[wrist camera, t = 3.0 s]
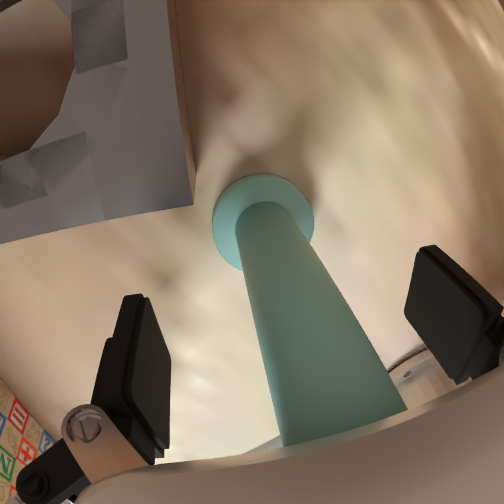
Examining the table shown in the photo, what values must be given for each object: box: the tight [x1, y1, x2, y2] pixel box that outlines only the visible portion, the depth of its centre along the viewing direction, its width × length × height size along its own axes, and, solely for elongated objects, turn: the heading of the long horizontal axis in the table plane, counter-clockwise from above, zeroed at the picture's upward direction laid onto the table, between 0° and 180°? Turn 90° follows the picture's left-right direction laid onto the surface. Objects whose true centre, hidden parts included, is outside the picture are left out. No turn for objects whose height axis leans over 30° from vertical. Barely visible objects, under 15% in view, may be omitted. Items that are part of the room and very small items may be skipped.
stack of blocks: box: [0, 378, 56, 504], centre depth 20 cm, size 21×6×12 cm, turn 4°
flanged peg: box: [212, 173, 408, 447], centre depth 11 cm, size 5×5×14 cm
